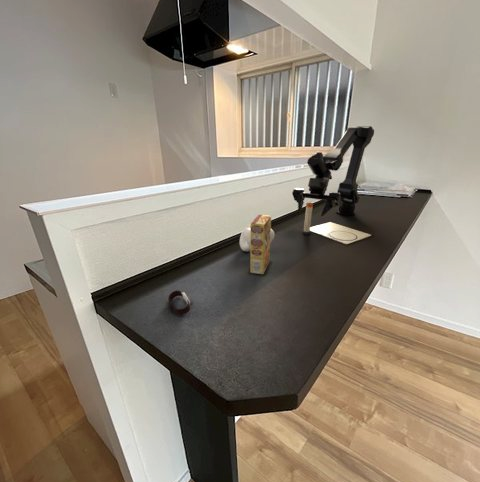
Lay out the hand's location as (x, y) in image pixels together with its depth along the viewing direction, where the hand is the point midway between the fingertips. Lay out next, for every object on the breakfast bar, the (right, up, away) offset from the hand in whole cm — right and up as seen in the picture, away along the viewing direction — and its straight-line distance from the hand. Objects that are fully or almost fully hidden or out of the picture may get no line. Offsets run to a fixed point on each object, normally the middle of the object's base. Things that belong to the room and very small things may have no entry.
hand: (310, 214), depth 104 cm
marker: (-1, -7, +2) cm, 8 cm away
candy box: (-22, -20, -24) cm, 38 cm away
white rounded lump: (-23, -15, -13) cm, 30 cm away
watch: (-42, -29, -42) cm, 66 cm away
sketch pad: (+12, -7, +3) cm, 14 cm away
